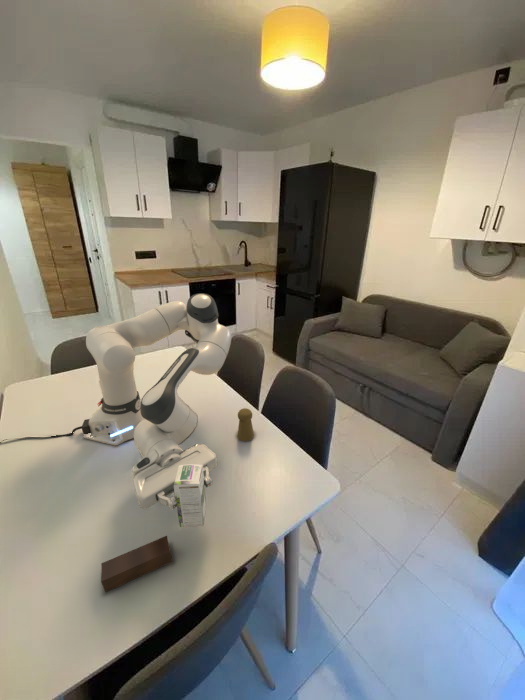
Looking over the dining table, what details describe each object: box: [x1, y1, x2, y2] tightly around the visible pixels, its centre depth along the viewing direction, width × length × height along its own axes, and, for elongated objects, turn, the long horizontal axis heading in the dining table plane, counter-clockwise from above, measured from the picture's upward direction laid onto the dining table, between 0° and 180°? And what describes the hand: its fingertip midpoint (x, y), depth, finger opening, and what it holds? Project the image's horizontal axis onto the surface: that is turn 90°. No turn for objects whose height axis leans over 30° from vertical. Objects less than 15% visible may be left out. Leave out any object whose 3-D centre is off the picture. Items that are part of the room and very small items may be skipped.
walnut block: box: [100, 535, 173, 593], centre depth 66 cm, size 14×4×4 cm, turn 116°
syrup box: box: [174, 464, 207, 529], centre depth 68 cm, size 6×6×14 cm
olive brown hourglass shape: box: [237, 407, 255, 442], centre depth 104 cm, size 6×6×11 cm
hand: (192, 494), depth 67 cm, fingers closed on syrup box, 8 cm apart
